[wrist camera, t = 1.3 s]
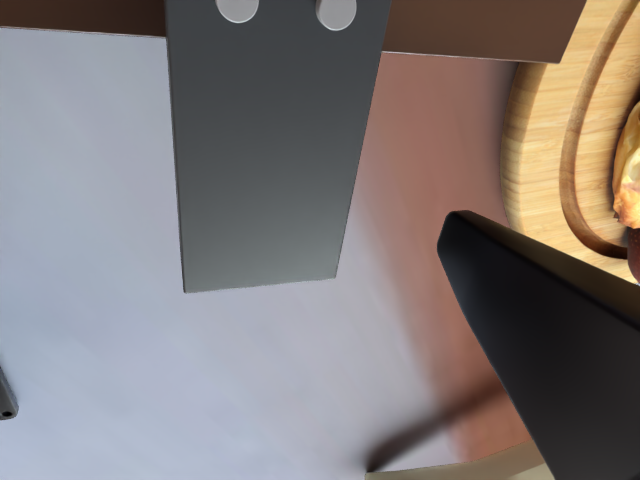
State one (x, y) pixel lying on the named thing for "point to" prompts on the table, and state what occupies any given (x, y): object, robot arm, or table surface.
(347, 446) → the table surface
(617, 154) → the wooden plate
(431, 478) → the flower vase
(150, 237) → the table surface
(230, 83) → the dark gray box
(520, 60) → the shelf
